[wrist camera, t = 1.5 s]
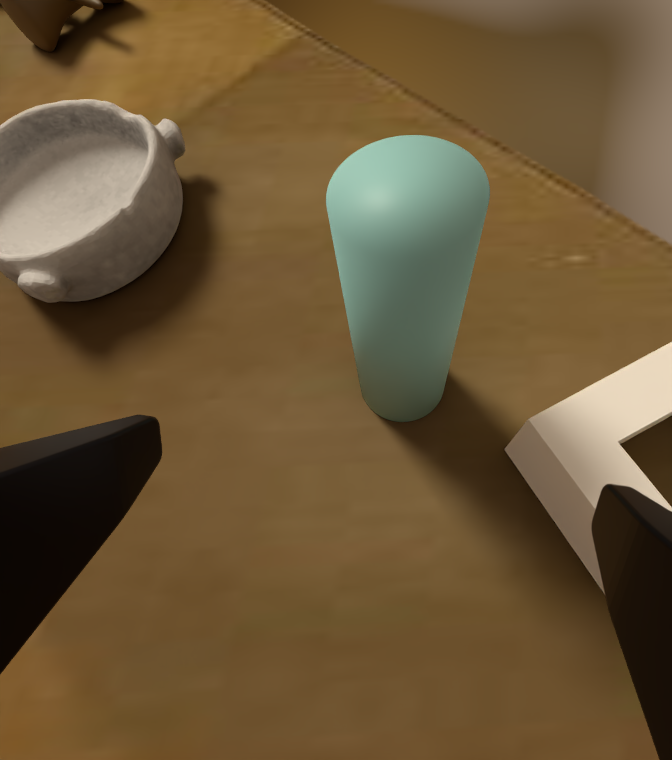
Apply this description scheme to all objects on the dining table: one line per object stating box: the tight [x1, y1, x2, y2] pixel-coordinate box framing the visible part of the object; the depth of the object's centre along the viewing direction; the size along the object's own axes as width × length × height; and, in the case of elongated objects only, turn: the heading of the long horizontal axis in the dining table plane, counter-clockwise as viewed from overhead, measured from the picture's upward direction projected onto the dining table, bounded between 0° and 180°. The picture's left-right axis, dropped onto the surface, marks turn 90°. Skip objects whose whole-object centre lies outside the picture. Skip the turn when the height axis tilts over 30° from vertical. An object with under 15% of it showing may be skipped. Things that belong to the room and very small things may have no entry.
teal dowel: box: [326, 135, 490, 422], centre depth 18 cm, size 4×4×13 cm
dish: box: [0, 99, 185, 303], centre depth 30 cm, size 14×14×5 cm
